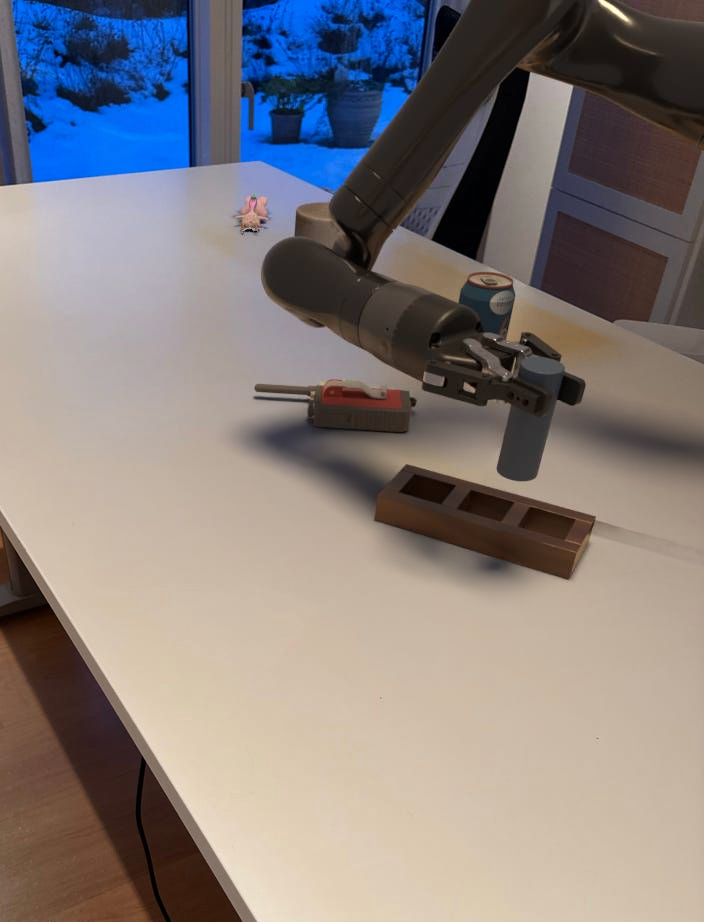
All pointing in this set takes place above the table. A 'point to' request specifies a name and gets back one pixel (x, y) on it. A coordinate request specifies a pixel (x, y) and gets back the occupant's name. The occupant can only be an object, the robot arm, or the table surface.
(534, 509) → the peg block
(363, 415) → the walkie-talkie
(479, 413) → the table surface
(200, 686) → the table surface
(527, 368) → the peg
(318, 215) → the pillar candle
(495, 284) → the soda can
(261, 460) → the table surface
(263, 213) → the rabbit figure
